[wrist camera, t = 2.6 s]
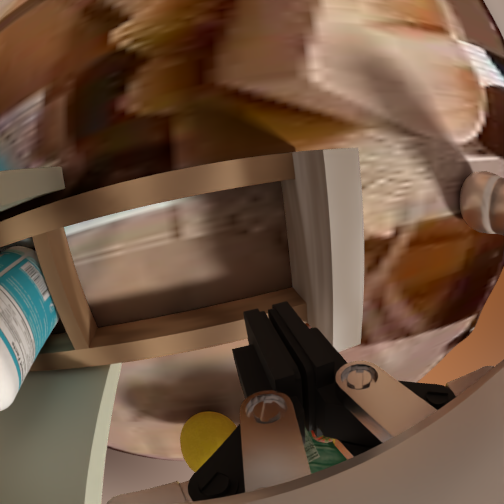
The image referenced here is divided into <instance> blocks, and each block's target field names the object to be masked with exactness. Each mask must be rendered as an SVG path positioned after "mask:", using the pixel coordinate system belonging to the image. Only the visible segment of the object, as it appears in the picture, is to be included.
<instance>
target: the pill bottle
mask: <svg viewBox="0 0 504 504" xmlns="http://www.w3.org/2000/svg"><path fill="white" fill-rule="evenodd" d="M59 318H60V316H59V314H58V311H57V309H56V307H55V304H54V302H53V299H52V296H51V294H50V291H49V289H48V286H47V283H46V280H45V277H44V275H43V272H42V269H41V266H40V262H39V259H38V256H37V253H36V251H34V250H32V249H30V248H27V247H23V246H13V247H9V248H7V249H5V250H3V251H1V252H0V411H2V410H4V409H6V408H8V407H9V406H10V405H11V404H12V402H13V401H14V399H15V397H16V395H17V393H18V391H19V389H20V387H21V385H22V383H23V381H24V379H25V377H26V375H27V373H28V371H29V370H30V368H31V366H32V364H33V362H34V361H35V359H36V357H37V355H38V353H39V352H40V350H41V348H42V347H43V345H44V343H45V341H46V340H47V338H48V336H49V335H50V333H51V332H52V330H53V328H54V327H55V325H56V323H57V322H58V320H59Z"/></svg>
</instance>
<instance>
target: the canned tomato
mask: <svg viewBox="0 0 504 504" xmlns="http://www.w3.org/2000/svg"><path fill="white" fill-rule="evenodd" d="M304 448H305V452H306V456H307V460H308V464H309V467H310V471H311V474H313V473H315V472H318V471H321V470H323V469H326V468H329V467H331V466H334V465H336V464H339V463H341V462H343V461H346V460H347V459H346V458H345V456H344V455H343V454H342V453H341V452H340V451H339V450H338V448H337V447H336V446H335V445H334V443H333V441H332V438H329V437H325V436H320V437H316V435H315V434H314V432H313V430H312V431H309V432H308V431H307V429H306V428H305V444H304Z"/></svg>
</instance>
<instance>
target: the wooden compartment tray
mask: <svg viewBox="0 0 504 504" xmlns="http://www.w3.org/2000/svg"><path fill="white" fill-rule="evenodd" d="M276 181H281V185H282V193H283V201H284V210H285V219H286V228H287V237H288V246H289V256H290V266H291V276H292V288H287V289H283V290H279V291H275V292H271V293H267V294H263V295H259V296H254V297H250V298H246V299H241V300H237V301H233V302H228V303H224V304H219V305H215V306H210V307H205V308H201V309H196V310H191V311H186V312H181V313H176V314H171V315H166V316H161V317H156V318H151V319H146V320H140V321H135V322H129V323H124V324H118V325H112V326H106V327H100V328H97V325H96V323H95V320H94V318H93V316H92V313H91V311H90V308H89V305H88V303H87V300H86V298H85V295H84V292H83V289H82V286H81V284H80V281H79V278H78V275H77V272H76V269H75V266H74V262H73V259H72V256H71V252H70V249H69V245H68V242H67V238H66V234H65V231H64V227H65V226H69V225H72V224H76V223H80V222H83V221H87V220H91V219H94V218H98V217H102V216H106V215H110V214H114V213H118V212H122V211H126V210H130V209H134V208H138V207H143V206H147V205H152V204H156V203H161V202H165V201H170V200H175V199H179V198H184V197H189V196H194V195H199V194H205V193H210V192H215V191H221V190H226V189H232V188H238V187H244V186H250V185H256V184H263V183H269V182H276ZM29 237H32V239H33V242H34V246H35V249H36V253H37V256H38V259H39V262H40V266H41V269H42V272H43V275H44V277H45V280H46V283H47V286H48V289H49V291H50V294H51V296H52V299H53V302H54V304H55V307H56V309H57V311H58V314H59V316H60V318H61V321H62V323H63V325H64V327H65V330H66V332H67V333H62V334H54V335H49V336H48V338H47V340H46V341H45V343H44V345H43V347H42V348H41V350H40V352H39V353H38V355H37V357H36V359H35V361H34V362H33V364H32V366H31V368H30V370H29V371H47V370H60V369H72V368H82V367H92V366H100V365H108V364H116V363H123V362H130V361H137V360H143V359H150V358H156V357H162V356H167V355H173V354H178V353H183V352H189V351H194V350H199V349H203V348H208V347H213V346H217V345H222V344H226V343H231V342H235V341H239V340H244V339H248V336H247V331H246V326H245V320H244V315H243V312H244V311H248V310H253V309H257V308H258V309H259V311H265V313H266V314H267V316H268V309H272V305H273V304H277V303H281V302H285V301H287V302H288V303H289V304H290V306H291V307H292V308H293V309H294V311H295V312H296V313H297V314H298V316H299V317H300V318H301V319H302V321H303V322H304V323H307V322H308V323H309V325H310V326H311V327H312V328H314V327H316V328H318V329H319V330H320V332H321V333H322V334H323V335H324V336H325V337H326V339H327V340H328V341H329V342H330V343H331V344H332V346H333V347H334V348H335V349H336V350H337V351H338V352H340V351H343V350H345V349H348V348H351V347H353V346H356V345H359V344H360V343H361V330H362V315H363V293H364V222H363V200H362V184H361V172H360V161H359V151H358V148H342V149H325V150H312V151H300V152H290V153H281V154H272V155H264V156H257V157H249V158H242V159H235V160H229V161H223V162H217V163H211V164H205V165H199V166H194V167H189V168H184V169H179V170H174V171H169V172H164V173H160V174H155V175H151V176H146V177H142V178H138V179H134V180H129V181H125V182H121V183H118V184H114V185H110V186H106V187H103V188H99V189H95V190H92V191H88V192H85V193H82V194H78V195H75V196H72V197H69V198H65V199H62V200H59V201H56V202H53V203H50V204H47V205H44V206H41V207H38V208H36V209H33V210H30V211H27V212H24V213H22V214H19V215H16V216H14V217H11V218H9V219H6V220H4V221H1V222H0V247H3V246H5V245H8V244H11V243H14V242H17V241H20V240H23V239H26V238H29ZM268 318H269V317H268ZM29 371H28V372H29Z"/></svg>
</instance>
